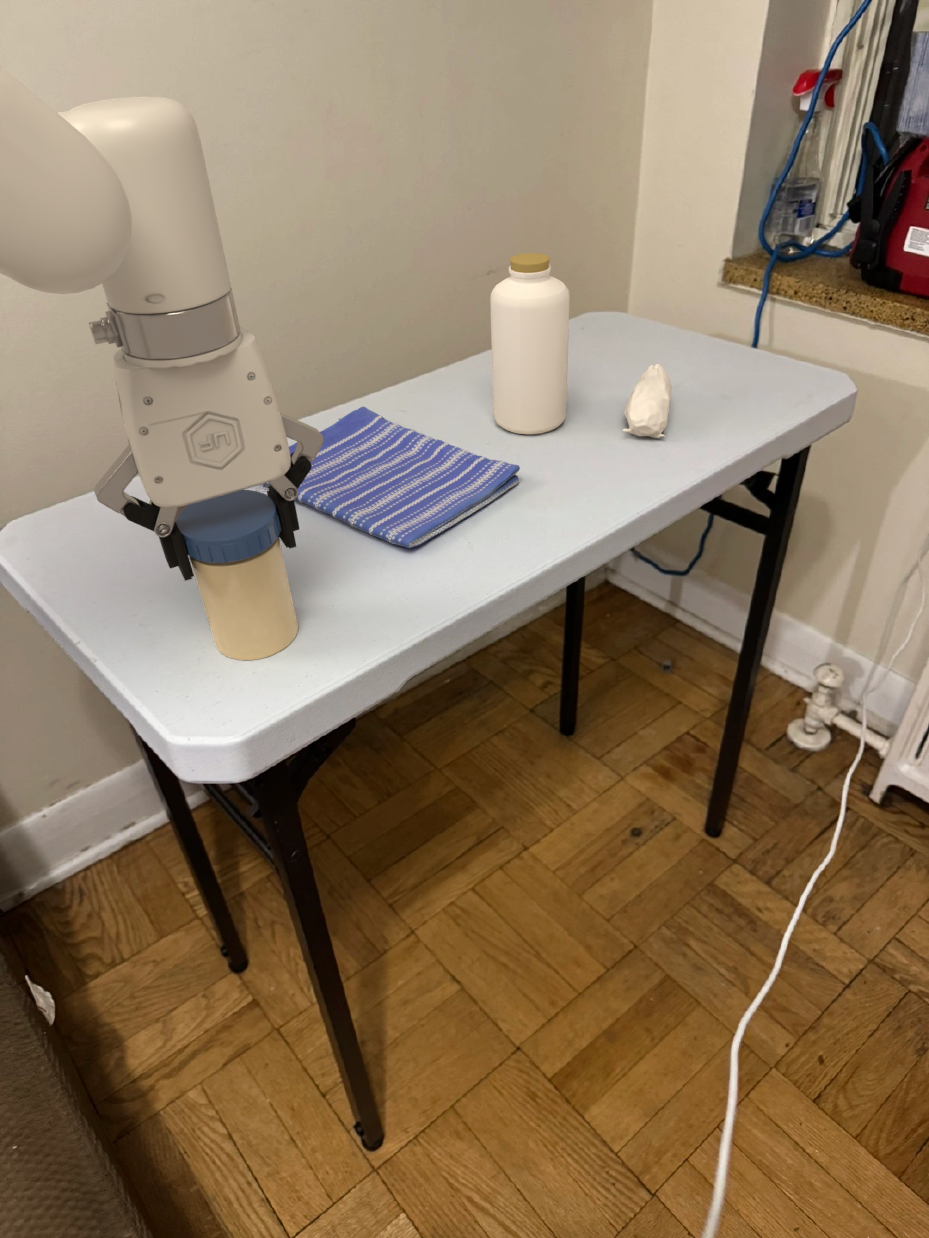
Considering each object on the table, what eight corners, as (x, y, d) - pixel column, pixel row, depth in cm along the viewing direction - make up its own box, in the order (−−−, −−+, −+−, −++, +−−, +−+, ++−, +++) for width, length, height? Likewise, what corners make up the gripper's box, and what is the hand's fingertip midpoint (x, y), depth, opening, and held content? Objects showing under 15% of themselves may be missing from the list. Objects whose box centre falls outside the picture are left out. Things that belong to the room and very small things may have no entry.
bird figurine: (620, 416, 102) (619, 434, 93) (636, 358, 99) (636, 371, 90) (661, 425, 102) (665, 444, 93) (678, 367, 99) (683, 381, 90)
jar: (227, 671, 67) (194, 558, 61) (205, 624, 72) (172, 515, 66) (309, 642, 70) (286, 530, 63) (283, 599, 74) (259, 491, 68)
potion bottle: (519, 401, 104) (517, 243, 93) (579, 416, 100) (585, 253, 89) (479, 427, 99) (473, 264, 88) (541, 444, 95) (543, 275, 84)
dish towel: (365, 424, 101) (362, 401, 99) (525, 482, 88) (525, 457, 86) (247, 482, 91) (242, 458, 89) (408, 558, 78) (405, 532, 77)
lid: (294, 544, 64) (289, 522, 62) (194, 574, 61) (187, 552, 60) (264, 501, 69) (260, 480, 68) (171, 527, 66) (165, 505, 65)
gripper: (41, 374, 50) (130, 617, 60) (326, 313, 55) (360, 545, 66) (28, 335, 55) (111, 565, 66) (289, 283, 61) (326, 502, 72)
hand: (236, 553), depth 66 cm, fingers closed on lid, 7 cm apart
